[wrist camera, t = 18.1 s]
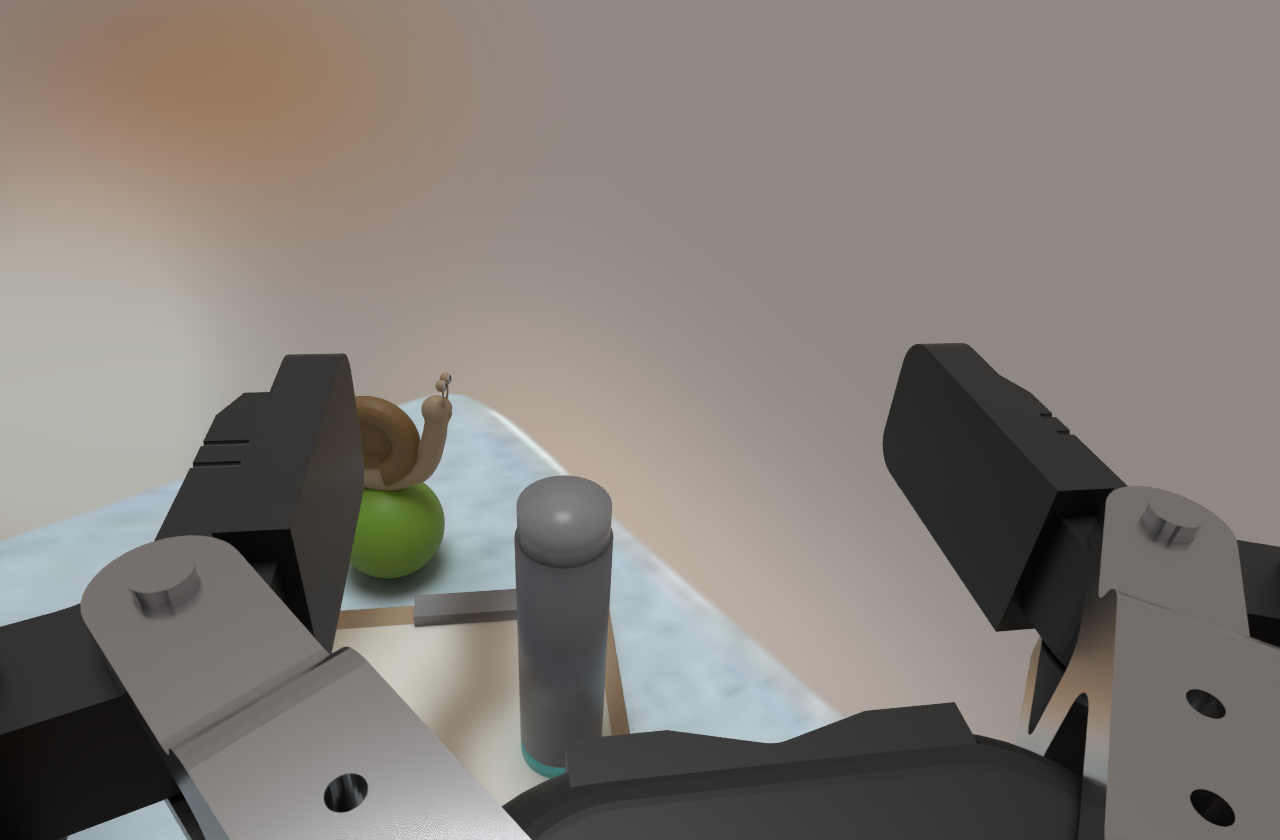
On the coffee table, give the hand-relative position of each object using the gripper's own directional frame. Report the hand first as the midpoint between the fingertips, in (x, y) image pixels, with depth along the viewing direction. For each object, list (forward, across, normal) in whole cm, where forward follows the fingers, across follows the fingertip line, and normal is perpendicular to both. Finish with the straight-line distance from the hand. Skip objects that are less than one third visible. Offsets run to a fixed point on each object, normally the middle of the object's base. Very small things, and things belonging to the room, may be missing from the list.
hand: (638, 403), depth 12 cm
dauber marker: (+12, 0, +24) cm, 27 cm away
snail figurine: (+24, +7, +25) cm, 35 cm away
